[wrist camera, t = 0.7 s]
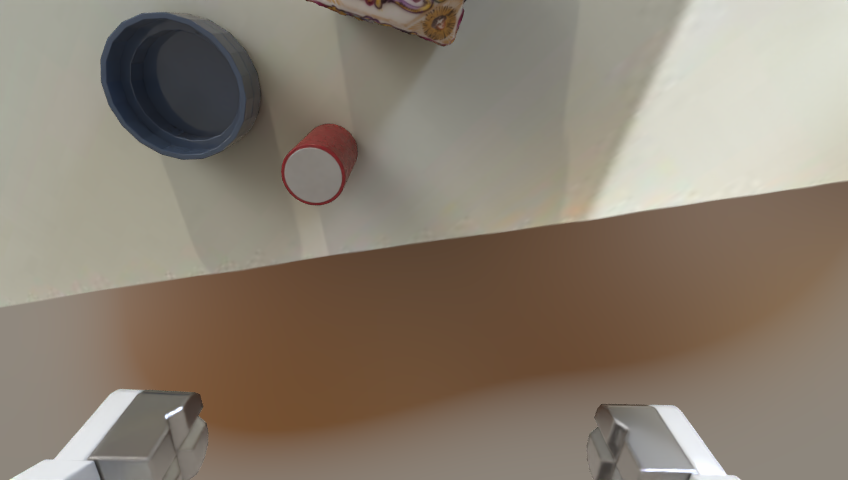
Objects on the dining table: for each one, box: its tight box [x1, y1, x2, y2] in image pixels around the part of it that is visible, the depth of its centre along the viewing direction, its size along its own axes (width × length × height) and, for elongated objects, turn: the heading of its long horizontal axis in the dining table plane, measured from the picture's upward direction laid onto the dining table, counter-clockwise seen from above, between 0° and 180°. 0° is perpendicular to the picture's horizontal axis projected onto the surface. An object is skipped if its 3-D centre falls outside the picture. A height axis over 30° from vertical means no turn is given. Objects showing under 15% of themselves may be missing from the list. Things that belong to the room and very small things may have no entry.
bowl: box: [101, 12, 261, 160], centre depth 43 cm, size 13×13×5 cm
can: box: [281, 124, 358, 205], centre depth 44 cm, size 6×6×10 cm
